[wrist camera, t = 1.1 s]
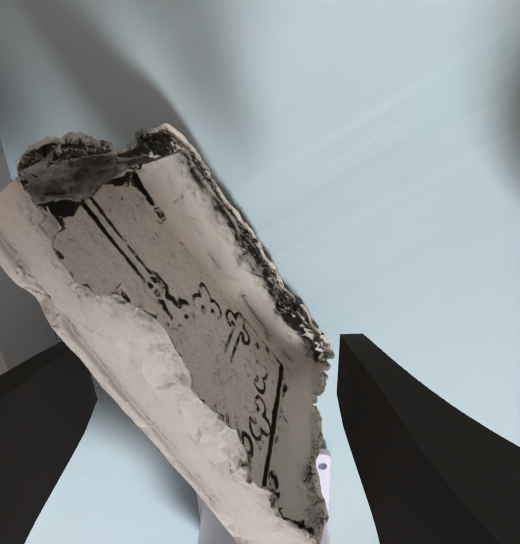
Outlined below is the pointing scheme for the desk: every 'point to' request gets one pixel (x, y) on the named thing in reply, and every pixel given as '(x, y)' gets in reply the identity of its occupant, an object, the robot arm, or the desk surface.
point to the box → (19, 313)
